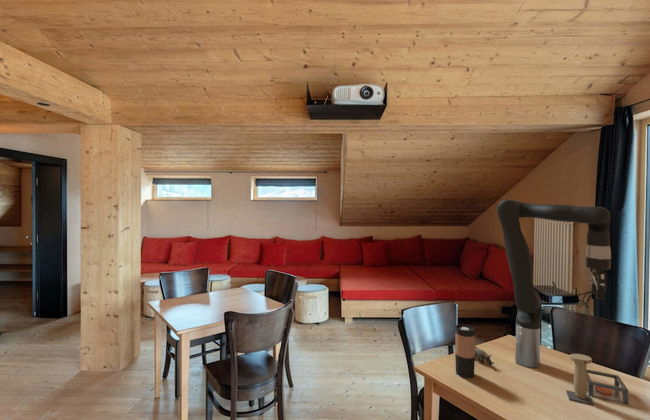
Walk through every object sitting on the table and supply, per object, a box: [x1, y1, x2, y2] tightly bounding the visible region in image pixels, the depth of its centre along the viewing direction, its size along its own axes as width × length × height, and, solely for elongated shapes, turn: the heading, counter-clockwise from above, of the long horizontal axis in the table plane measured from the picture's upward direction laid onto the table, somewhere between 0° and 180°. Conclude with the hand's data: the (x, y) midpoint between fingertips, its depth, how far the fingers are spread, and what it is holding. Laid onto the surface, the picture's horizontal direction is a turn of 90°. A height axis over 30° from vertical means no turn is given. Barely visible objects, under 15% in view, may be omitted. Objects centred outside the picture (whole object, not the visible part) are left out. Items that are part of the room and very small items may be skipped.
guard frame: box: [586, 368, 629, 405], centre depth 120 cm, size 11×11×5 cm
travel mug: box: [454, 323, 476, 379], centre depth 133 cm, size 8×8×20 cm
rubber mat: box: [566, 389, 595, 406], centre depth 117 cm, size 7×6×1 cm
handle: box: [569, 353, 593, 399], centre depth 116 cm, size 5×6×15 cm
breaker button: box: [595, 386, 613, 395], centre depth 120 cm, size 5×5×1 cm
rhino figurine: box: [475, 345, 495, 367], centre depth 144 cm, size 4×14×6 cm, turn 21°
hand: (597, 296), depth 125 cm, fingers open, 8 cm apart
